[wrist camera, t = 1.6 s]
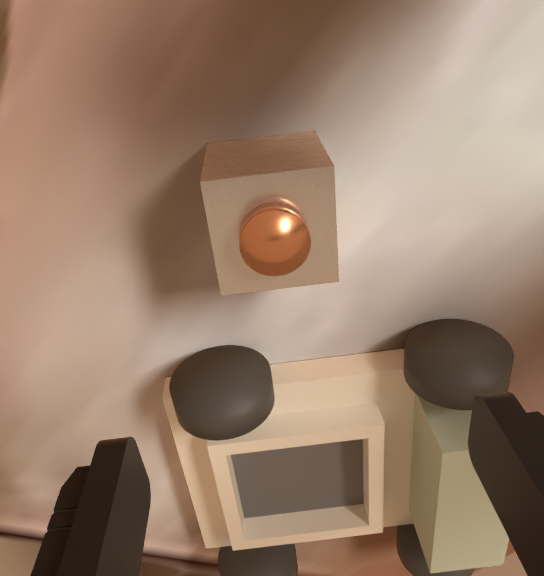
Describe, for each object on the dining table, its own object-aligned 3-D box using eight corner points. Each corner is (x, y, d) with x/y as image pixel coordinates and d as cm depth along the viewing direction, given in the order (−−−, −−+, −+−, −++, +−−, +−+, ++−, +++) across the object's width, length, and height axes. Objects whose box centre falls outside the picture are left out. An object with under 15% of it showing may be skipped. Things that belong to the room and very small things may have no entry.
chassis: (501, 312, 32) (563, 386, 26) (470, 508, 42) (509, 594, 36) (159, 353, 32) (141, 437, 26) (211, 540, 42) (207, 631, 36)
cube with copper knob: (314, 130, 26) (338, 173, 20) (320, 228, 28) (342, 292, 22) (207, 143, 26) (198, 190, 20) (223, 240, 28) (220, 307, 22)
